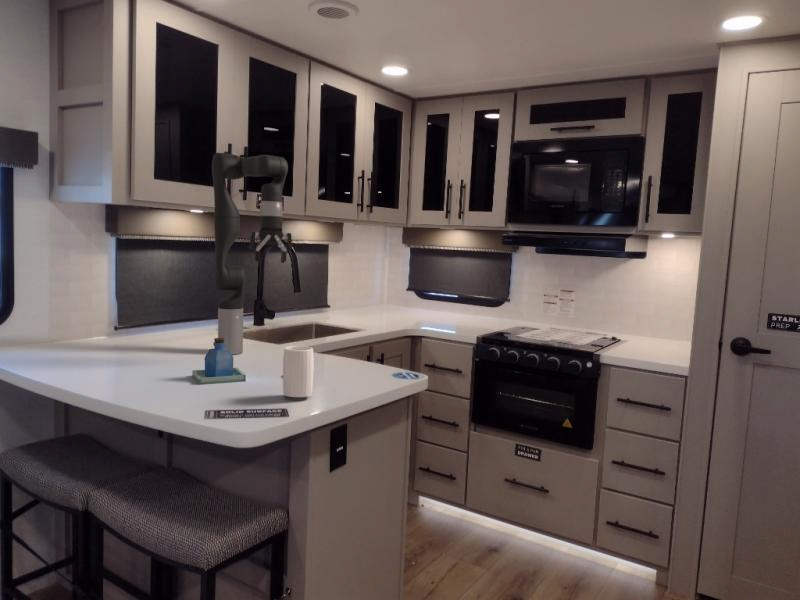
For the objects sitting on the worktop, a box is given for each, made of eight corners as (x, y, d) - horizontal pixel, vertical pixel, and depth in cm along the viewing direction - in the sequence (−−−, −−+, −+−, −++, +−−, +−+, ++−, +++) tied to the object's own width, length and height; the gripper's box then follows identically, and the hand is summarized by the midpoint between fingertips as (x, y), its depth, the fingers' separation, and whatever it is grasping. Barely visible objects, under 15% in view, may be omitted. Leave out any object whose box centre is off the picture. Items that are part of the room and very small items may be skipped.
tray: (192, 375, 189) (192, 370, 189) (237, 373, 196) (237, 367, 196) (198, 384, 179) (198, 378, 178) (245, 381, 185) (245, 375, 185)
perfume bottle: (222, 373, 192) (222, 336, 190) (233, 376, 188) (233, 339, 186) (204, 376, 187) (205, 338, 186) (215, 379, 183) (216, 341, 182)
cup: (291, 392, 173) (292, 344, 172) (317, 396, 171) (319, 347, 170) (276, 399, 165) (277, 349, 164) (304, 403, 163) (305, 352, 162)
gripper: (288, 216, 211) (287, 262, 213) (247, 214, 204) (247, 261, 206) (294, 216, 204) (293, 263, 206) (253, 213, 198) (252, 262, 199)
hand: (270, 262), depth 206 cm, fingers open, 8 cm apart
